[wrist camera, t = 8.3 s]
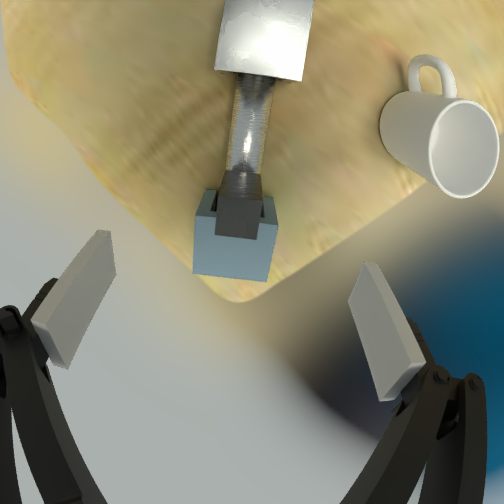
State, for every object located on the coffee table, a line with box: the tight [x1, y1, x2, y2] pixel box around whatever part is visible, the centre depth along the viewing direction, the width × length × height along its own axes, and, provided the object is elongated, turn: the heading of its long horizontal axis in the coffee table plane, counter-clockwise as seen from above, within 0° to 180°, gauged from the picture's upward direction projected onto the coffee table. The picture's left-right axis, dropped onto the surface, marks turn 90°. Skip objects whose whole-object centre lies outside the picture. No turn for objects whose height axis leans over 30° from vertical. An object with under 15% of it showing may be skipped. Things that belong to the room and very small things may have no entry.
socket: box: [193, 189, 278, 282], centre depth 29 cm, size 6×7×6 cm
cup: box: [380, 54, 499, 198], centre depth 21 cm, size 8×12×10 cm
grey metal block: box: [214, 0, 314, 83], centre depth 19 cm, size 8×6×6 cm
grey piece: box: [214, 72, 276, 240], centre depth 23 cm, size 15×3×9 cm, turn 172°
